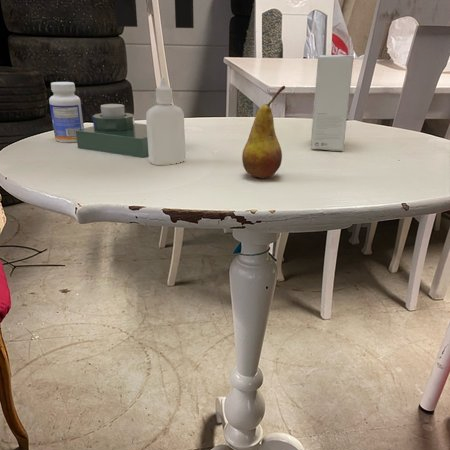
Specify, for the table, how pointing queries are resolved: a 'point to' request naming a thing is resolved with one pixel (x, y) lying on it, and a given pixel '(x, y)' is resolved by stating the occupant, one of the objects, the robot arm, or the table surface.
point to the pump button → (112, 110)
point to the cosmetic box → (331, 101)
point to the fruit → (262, 145)
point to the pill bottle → (65, 111)
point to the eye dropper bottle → (165, 129)
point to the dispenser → (115, 136)
